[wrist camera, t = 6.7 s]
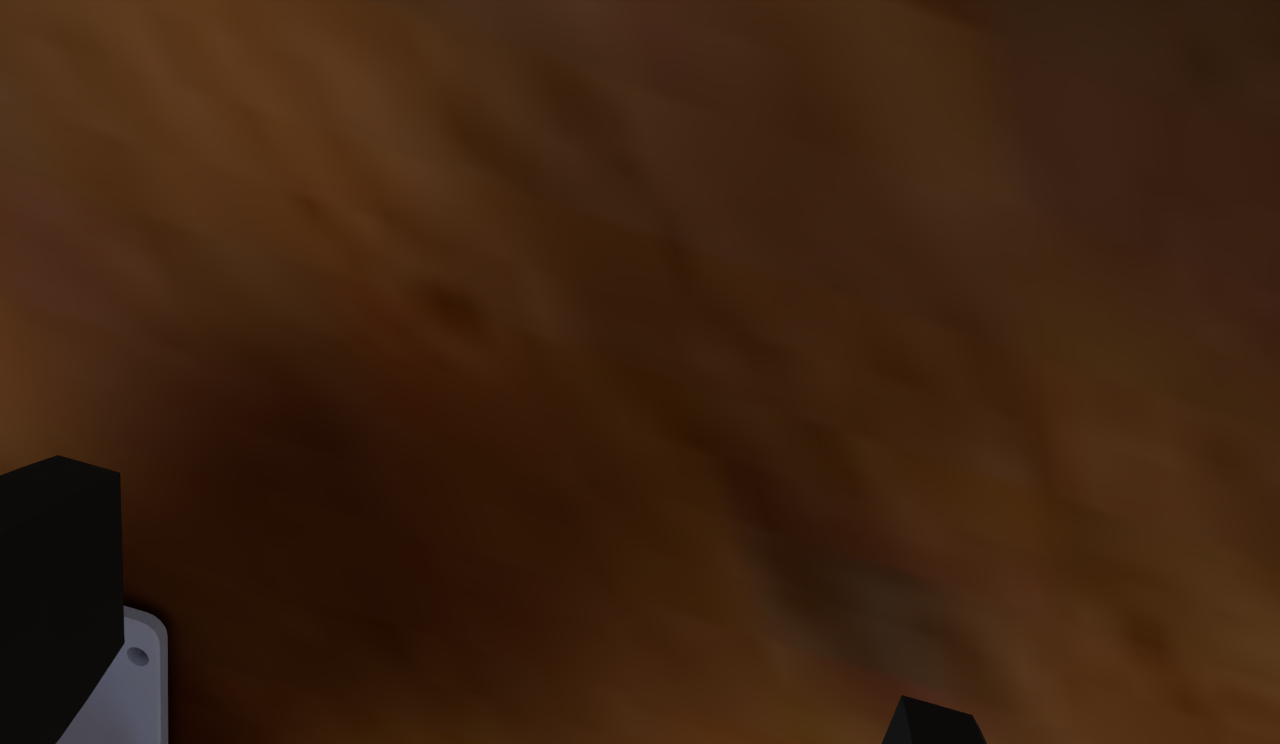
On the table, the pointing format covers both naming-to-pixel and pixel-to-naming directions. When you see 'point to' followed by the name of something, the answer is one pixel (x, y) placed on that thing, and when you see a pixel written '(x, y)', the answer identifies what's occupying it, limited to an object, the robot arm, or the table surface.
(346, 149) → the table surface
